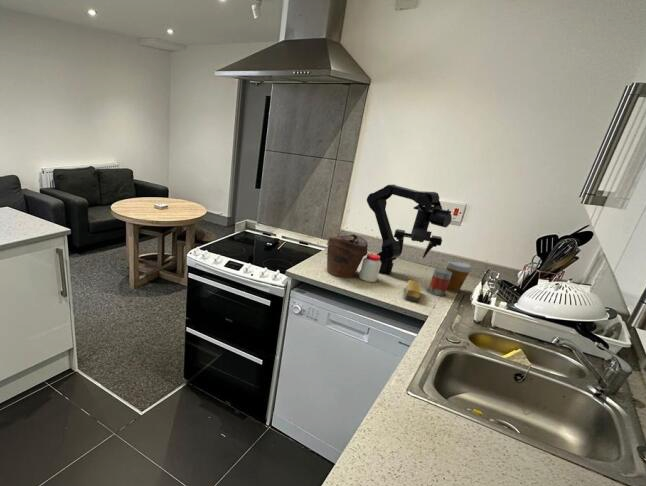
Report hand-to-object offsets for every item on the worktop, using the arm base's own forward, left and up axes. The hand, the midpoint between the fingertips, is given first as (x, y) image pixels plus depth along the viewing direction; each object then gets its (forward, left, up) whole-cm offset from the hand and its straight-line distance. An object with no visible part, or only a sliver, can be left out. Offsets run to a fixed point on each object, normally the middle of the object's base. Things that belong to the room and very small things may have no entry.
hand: (411, 255), depth 175 cm
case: (-27, -9, -12) cm, 31 cm away
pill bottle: (-15, -9, -12) cm, 21 cm away
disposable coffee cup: (+19, +2, -12) cm, 23 cm away
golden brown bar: (+3, -18, -12) cm, 22 cm away
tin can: (+13, -7, -12) cm, 19 cm away
